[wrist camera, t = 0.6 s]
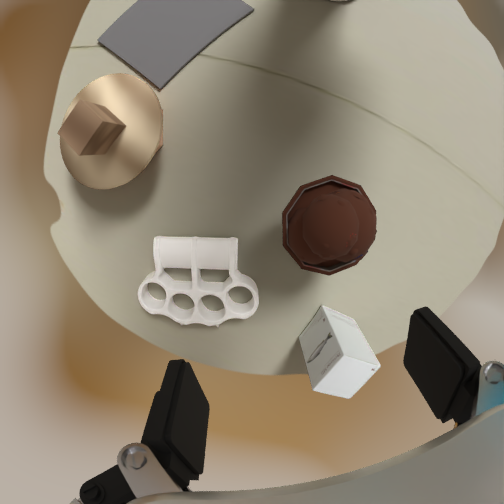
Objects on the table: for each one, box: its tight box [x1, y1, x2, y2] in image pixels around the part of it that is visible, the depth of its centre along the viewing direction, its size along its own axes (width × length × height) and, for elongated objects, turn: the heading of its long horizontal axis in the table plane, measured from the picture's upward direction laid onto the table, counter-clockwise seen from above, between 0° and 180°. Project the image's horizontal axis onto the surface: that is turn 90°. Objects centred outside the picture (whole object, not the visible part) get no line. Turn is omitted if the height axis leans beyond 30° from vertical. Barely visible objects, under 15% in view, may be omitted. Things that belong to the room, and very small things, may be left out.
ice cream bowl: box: [282, 175, 377, 275], centre depth 30 cm, size 11×11×15 cm
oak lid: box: [58, 73, 163, 189], centre depth 24 cm, size 15×15×7 cm
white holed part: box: [138, 236, 259, 328], centre depth 39 cm, size 3×18×15 cm
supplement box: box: [299, 305, 381, 399], centre depth 38 cm, size 7×7×13 cm
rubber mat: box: [98, 0, 254, 89], centre depth 26 cm, size 18×16×1 cm
